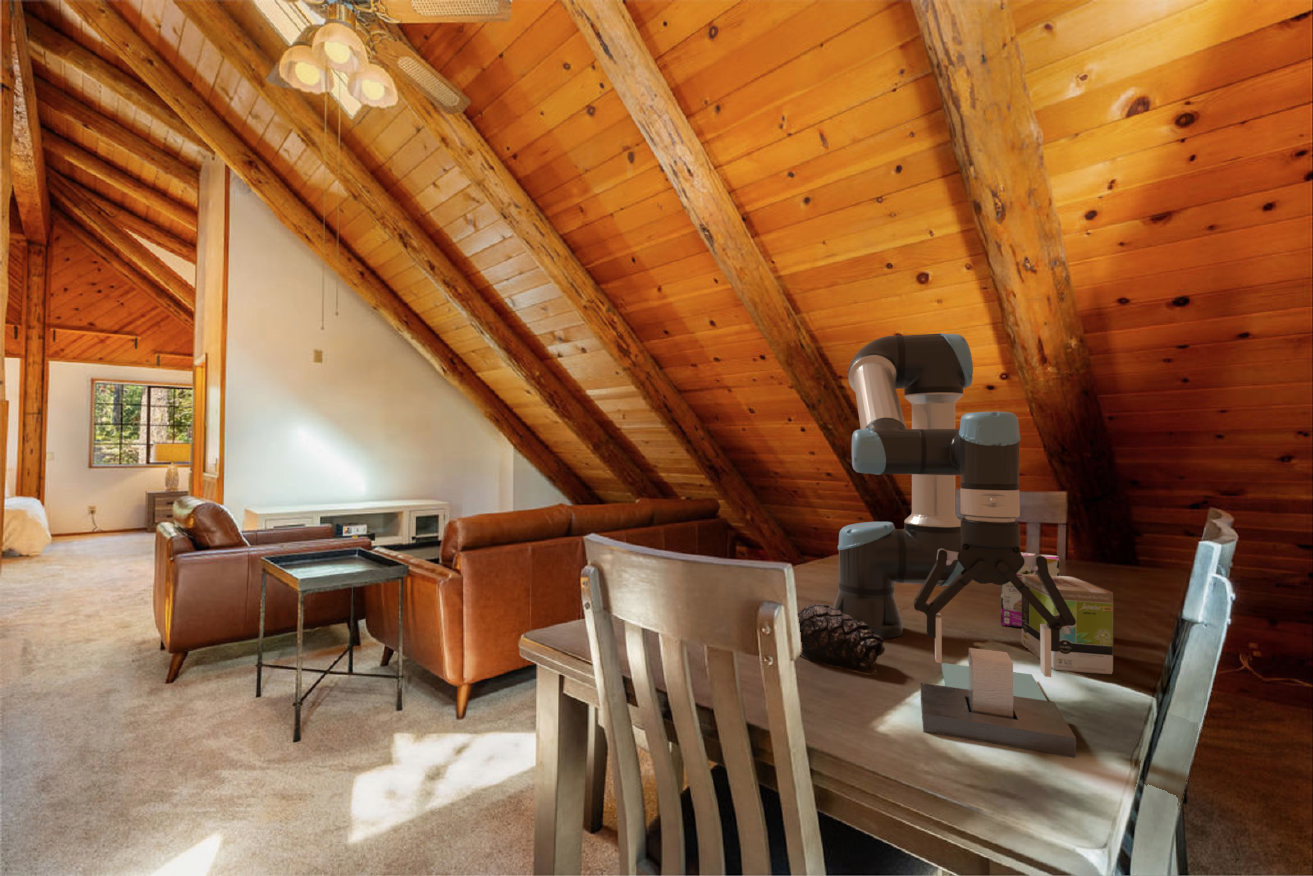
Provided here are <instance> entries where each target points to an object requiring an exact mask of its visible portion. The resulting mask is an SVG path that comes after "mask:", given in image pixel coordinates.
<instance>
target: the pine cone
mask: <svg viewBox="0 0 1313 876" xmlns="http://www.w3.org/2000/svg"><path fill="white" fill-rule="evenodd" d="M797 615H798V617H799V623H800V632H801V642H802V647H801V648H802V649H801V650H802V653H801V656H800V657H802V658H804V659H806V660H809V661H813V662H815V663H819V664H823V665H826V666H830V667H832V668H833V667H834V668H840V669H843V670H847V671H850V672H855V673H859V674H862V675H863V674H864V675H869V676H874V675H875V676H877V675H878V672H877V668H876V667H875V666H874V664H875V663H876V662H877V660H878V657H879V656H881V655H883V654H884V653H885V650H886V648H885V646H884V639H882V638H881V637H880V636H879V635H876V634H875V633H874V632H873V630H870V629H868V628H869V626H868V625H867V624H865V623H864V622H859V621H857V620H854V619H853V618H852V617H851V616H849V615H846V614H845V613H843V612H841V611H840V610H837V609H835V608H833V607H831V606H830V605H828V604H824V603H813V604H809V605H806V606H805V607H803V608H802V609H801V610H800V611H799V612H798V613H797Z"/></svg>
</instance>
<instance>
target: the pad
mask: <svg viewBox="0 0 1313 876" xmlns="http://www.w3.org/2000/svg"><path fill="white" fill-rule="evenodd" d="M941 671H942V677H943V682H944V686H946V687H953V688H961V689H968V690H969V665H960V664H955V663H954V664H953V663H946V662H942V663H941ZM1013 696H1017V697H1024V698H1031V699H1038V700H1045V701H1048V699H1047V698H1046V696H1045V694H1044V693H1043V691H1042V689H1041V688H1040V687H1039V684H1038V682H1037V681H1036V680H1035V678H1034V676H1033V674H1031V673H1025V672H1024V673H1022V672H1017V671H1016V672H1015V671H1013Z"/></svg>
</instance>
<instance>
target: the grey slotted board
mask: <svg viewBox="0 0 1313 876" xmlns="http://www.w3.org/2000/svg"><path fill="white" fill-rule="evenodd" d="M920 705H921V706H920V708H921V719H922V720H921V721H922V729H923V732H924V733H929V734H930V733H931V734H936V735H942V736H949V737H954V738H959V739H964V740H969V741H970V740H971V741H972V740H973V741H975V742H982V743H983V742H984V743H988V744H989V743H990V744H995V745H1000V746H1006V747H1007V746H1008V747H1013V748H1019V749H1022V750H1023V749H1024V750H1029V751H1036V752H1043V753H1047V754H1052V755H1053V754H1054V755H1060V756H1065V757H1070V758H1071V757H1072V758H1077V737H1076V736H1075V734H1074V732H1073V731H1072V728H1070V726H1069V724H1068V723H1067V720H1066V719H1065V718H1064V715H1063V714H1062V712H1061V711H1060V710H1059V708H1058V706H1057V705H1056V703H1055V701H1052V700H1047V701H1045V700H1038V699H1031V698H1024V697H1017V696H1013V719H1009V718H1002V717H996V716H990V715H983V714H977V713H970V712H969V690H968V689H961V688H953V687H946V686H945V685H938V684H931V683H925V682H920Z"/></svg>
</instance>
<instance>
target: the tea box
mask: <svg viewBox="0 0 1313 876" xmlns="http://www.w3.org/2000/svg"><path fill="white" fill-rule="evenodd" d="M1051 578H1052V580H1053V581H1054V583H1055V585H1056V587H1057V588H1058V590H1059V592H1060V594H1061V595H1062V597H1063V599H1064V601H1065V602H1066V604H1067V606H1068V608H1069V609H1070V611H1071V613H1072V615H1073V616H1074V618H1075V620H1076V624H1075V625H1073V626H1069V625H1068V626H1064V627H1062V628H1061V629H1060V649H1059V651H1058V652H1055V651H1051V669H1052V670H1058V671H1065V672H1075V673H1076V672H1077V673H1088V674H1103V675H1106V674H1107V675H1112V674H1113V672H1114V593H1113V591H1110V590H1107V589H1105V588H1102V587H1099V586H1097V585H1095V584H1093V583H1090V582H1087V581H1085V580H1081V579H1080V578H1077V577H1074V576H1068V575H1067V576H1065V575H1059V576H1051ZM1022 582H1023V583H1024V584H1025V585H1026V586H1027V587H1028V589H1029V590H1030V591H1031V592H1032V593H1033V594H1034V595H1035V596H1036V597H1037V598H1038V600H1039V601H1040V602H1041V603H1042V604H1043V605H1044V606H1045V607H1046V608H1047V609H1048V610H1049V612H1050V613H1051V614H1052V615H1053V616H1057V615H1059V613H1058V611H1057V609H1056V608H1055V606H1054V604H1053V602H1052V600H1051V599H1050V597H1049V595H1048V593H1047V592H1046V590H1045V588H1044V586H1043V584H1042V583H1041V581H1040V579H1039V577H1038V576H1037V575H1031V574H1022ZM1040 624H1047V622H1046V621H1045V619H1044V618H1043V617H1042V616H1041V615H1040V614H1039V613H1038V612H1037V611H1036V610H1035V608H1034V607H1033V606H1032V605H1031V604H1030V603H1029V602H1028V601H1027V600H1026V599H1025V597H1024V596H1023V595H1022V628H1020V630H1021V632H1020V633H1021V635H1020V636H1021V645H1023V646H1024V648H1026V649H1027V648H1028V649H1027V650H1029V651H1030V652H1031V653H1033V654H1034V655H1035V656H1037V657H1038V658H1039V659H1040V660H1041V652H1040Z"/></svg>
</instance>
